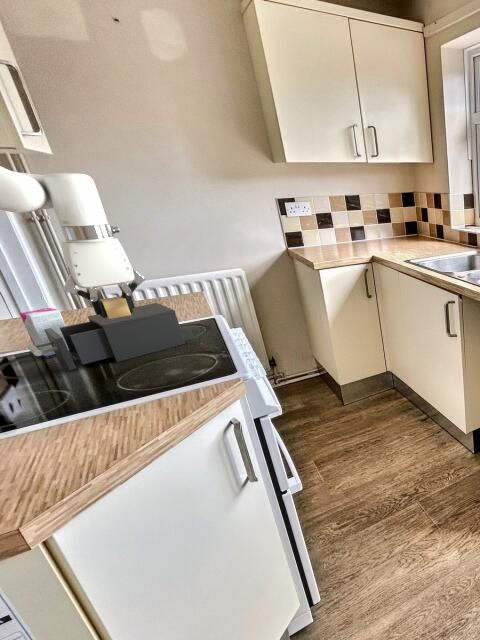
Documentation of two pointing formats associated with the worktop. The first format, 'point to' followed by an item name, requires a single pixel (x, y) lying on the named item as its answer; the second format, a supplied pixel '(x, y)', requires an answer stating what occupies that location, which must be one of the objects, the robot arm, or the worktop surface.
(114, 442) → the worktop surface
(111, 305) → the block
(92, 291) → the robot arm
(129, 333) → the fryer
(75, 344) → the dark grey box
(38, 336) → the supplement box
